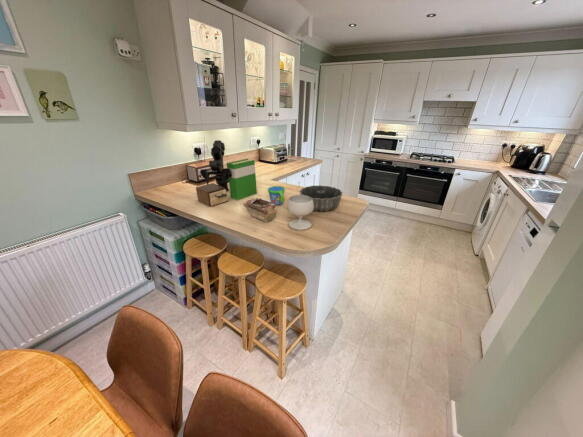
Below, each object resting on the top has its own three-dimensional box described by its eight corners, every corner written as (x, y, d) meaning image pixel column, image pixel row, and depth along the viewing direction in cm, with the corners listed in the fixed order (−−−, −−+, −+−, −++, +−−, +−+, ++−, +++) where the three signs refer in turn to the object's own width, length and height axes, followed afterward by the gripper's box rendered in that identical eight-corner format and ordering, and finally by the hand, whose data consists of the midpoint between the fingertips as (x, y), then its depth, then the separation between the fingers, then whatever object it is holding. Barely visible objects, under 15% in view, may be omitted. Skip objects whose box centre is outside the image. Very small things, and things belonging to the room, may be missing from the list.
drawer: (231, 202, 151) (230, 191, 148) (215, 207, 143) (214, 195, 140) (216, 196, 162) (214, 185, 159) (200, 200, 154) (198, 189, 151)
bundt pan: (309, 196, 164) (309, 182, 159) (346, 202, 153) (347, 188, 148) (292, 209, 143) (292, 194, 138) (333, 218, 132) (334, 202, 127)
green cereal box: (249, 191, 174) (247, 158, 163) (256, 193, 170) (254, 160, 159) (230, 197, 162) (226, 163, 151) (237, 200, 157) (233, 164, 147)
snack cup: (265, 200, 156) (264, 186, 152) (279, 198, 160) (279, 184, 156) (273, 209, 144) (273, 193, 139) (289, 206, 148) (289, 190, 143)
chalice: (300, 216, 134) (300, 192, 127) (318, 225, 124) (320, 198, 118) (281, 224, 125) (281, 198, 118) (300, 234, 116) (300, 206, 109)
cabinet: (226, 201, 156) (224, 187, 151) (209, 206, 147) (207, 192, 143) (214, 196, 164) (212, 182, 160) (198, 200, 156) (195, 187, 152)
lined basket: (258, 227, 123) (257, 210, 118) (238, 215, 136) (236, 199, 131) (278, 219, 131) (277, 203, 126) (257, 209, 144) (256, 194, 140)
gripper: (198, 156, 144) (194, 176, 137) (228, 155, 144) (226, 174, 137) (205, 168, 154) (201, 187, 147) (233, 167, 154) (231, 186, 147)
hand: (214, 183), depth 144 cm, fingers open, 9 cm apart
